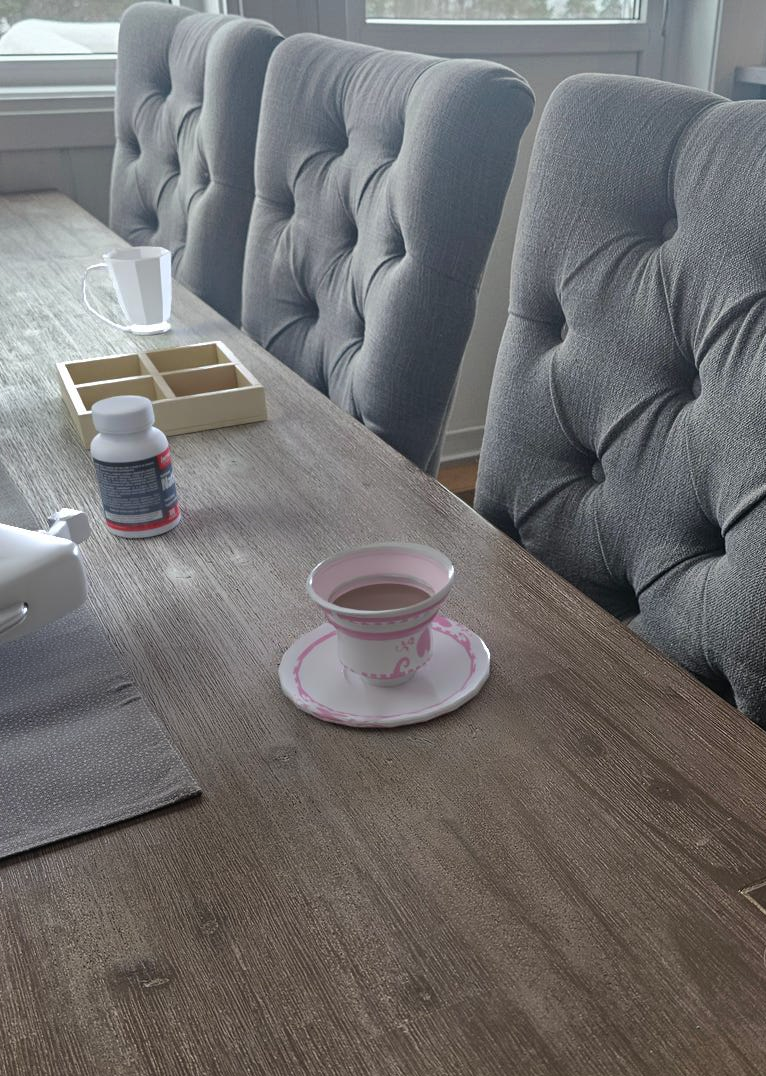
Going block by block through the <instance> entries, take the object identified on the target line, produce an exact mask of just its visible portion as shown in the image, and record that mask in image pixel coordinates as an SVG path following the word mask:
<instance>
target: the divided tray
mask: <svg viewBox="0 0 766 1076" xmlns="http://www.w3.org/2000/svg"><path fill="white" fill-rule="evenodd" d="M54 366H55V371H56V375H57V379H58V384H59V389H60V394H61V396H62V399H63V401H64V403H65V405H66V407H67V408H66V409H67V410H68V413H69V414H70V417H71V419H72V422H73V424H74V426H75V428H76V431H77V433H78V436H79V438H80V440H81V443H82V445H83V447H84V449H85V451H89V450H91V448H90V447H91V442H92V440H93V439H94V438H95V437H96V436H97V435H98V434H99V433H100V432H99V431H97V430H96V428H95V425H94V423H93V417H92V410H91V408H92V406H93V405H94V404H95V403H97V402H98V401H101V400H104V399H107V398H111V397H117V396H141V397H145V398H147V399H149V400H150V401H151V403H152V408H153V413H154V420H155V422H154V424H153V425H152V427H155V428H157V429H159V430H160V431H161V432H162V433H163V434H164V435H165V436H166V438H167V437H173V436H179V435H184V434H190V433H197V432H203V431H209V430H215V429H221V428H226V427H234V426H238V425H246V424H252V423H257V422H263V421H269V417H268V408H267V400H266V393H265V387H264V385H263V384H262V383H261V382H260V381H259V380H258V379H257V378H256V376H254V375H253V373H252V372H251V371H250V370H249V369H248V368H247V367H246V366H245V365H244V364H243V363H242V361H241V360H240V359H239V358H238V357H237V356H236V354H234V352H232V350H231V349H230V348H229V347H228V346H227V345H226V344H225V342H223V340H215V341H208V342H200V343H193V344H186V345H180V346H172V347H164V348H157V349H149V350H141V351H136V352H128V353H127V352H126V353H121V354H120V353H119V354H114V355H106V356H99V357H91V358H84V359H77V360H70V361H64V362H56V363H54Z"/></svg>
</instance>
